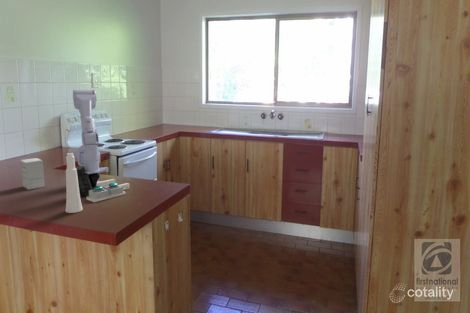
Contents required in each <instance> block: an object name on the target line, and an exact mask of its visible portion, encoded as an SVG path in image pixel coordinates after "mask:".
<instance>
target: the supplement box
mask: <svg viewBox="0 0 470 313" xmlns="http://www.w3.org/2000/svg"><path fill="white" fill-rule="evenodd" d="M43 163H44V162H43V160H42V159H40V158H38V157H35V158H26V159H20V169H21V179H22V187H23V188H25V189H27V191H28V190H33V189H39V188H44V187H45V185H46V184H45V174H44V164H43Z"/></svg>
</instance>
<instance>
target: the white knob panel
mask: <svg viewBox="0 0 470 313" xmlns="http://www.w3.org/2000/svg"><path fill="white" fill-rule="evenodd" d="M100 181H101V182H97V184H96V186H103V189H102V191H101V192H95V189H94V190H90V191H89V195H88V196H85V197H86V200H87V201H89V202H92V203H96V202H97V203H98V202H102V201H104V200H109V199H113V198H117V197H120V196H124V195H126V194H127V192H126V190H130V183H129V182H125V183H121V184H118V185H117V188H114V189H111V188H110V186H109V184H110V183H117V182H116V178H111V179H107V180H100Z"/></svg>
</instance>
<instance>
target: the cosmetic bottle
mask: <svg viewBox="0 0 470 313" xmlns="http://www.w3.org/2000/svg"><path fill="white" fill-rule="evenodd" d="M65 159H66V160H65V161H66V169H65V183H66V184H65V188H66V190H65V191H66V193H65V194H66V196H65V197H66V198H65V201H66V204H65V212H66V213H68V214H75V213H79V212H82V211H83V210H84V209H83V205H82V200H81V197H80V193H79V185H78V177H77V169H76V168H75V167H76V162H75V161H76V160H75V155H74V152H67V153H66V156H65Z"/></svg>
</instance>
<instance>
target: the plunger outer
mask: <svg viewBox="0 0 470 313" xmlns="http://www.w3.org/2000/svg"><path fill="white" fill-rule="evenodd" d="M94 189H95V192H101V191H102V189H104V187H103V186H95V187H94Z"/></svg>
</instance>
